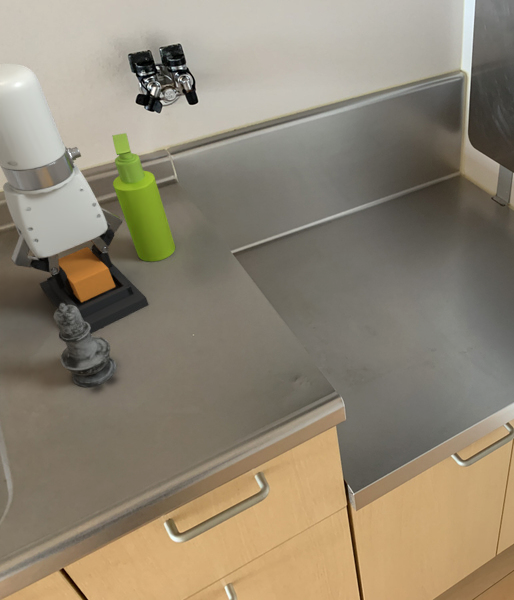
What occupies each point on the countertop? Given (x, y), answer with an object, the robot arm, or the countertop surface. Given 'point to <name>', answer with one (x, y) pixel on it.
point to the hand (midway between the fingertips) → (86, 279)
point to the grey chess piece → (83, 349)
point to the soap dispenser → (141, 204)
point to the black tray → (101, 301)
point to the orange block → (86, 274)
